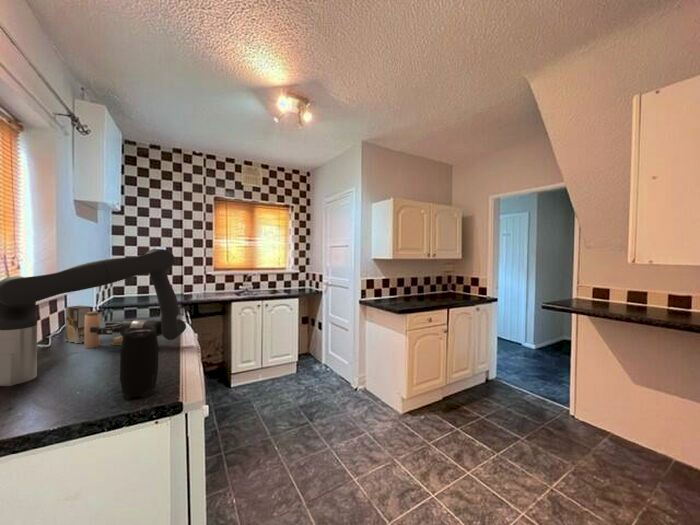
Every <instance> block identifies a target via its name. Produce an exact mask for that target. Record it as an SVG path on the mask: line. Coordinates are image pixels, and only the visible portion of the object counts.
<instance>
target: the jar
mask: <svg viewBox="0 0 700 525" xmlns="http://www.w3.org/2000/svg"><path fill="white" fill-rule="evenodd" d="M91 327H101V314H100V313H99V311H95V310H93V312H87V315H85V330H84V343H83V348H84V347H85V348H84V349H94V348H93V347H96V348H99V347H100V345H101V344H100V343H101V338H100V337H101V335H97V333H91V332H90V328H91ZM98 346H99V347H98Z"/></svg>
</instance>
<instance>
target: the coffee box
mask: <svg viewBox="0 0 700 525" xmlns="http://www.w3.org/2000/svg"><path fill="white" fill-rule="evenodd" d="M87 312H94V306H88V305H75V306H74V305H73V306H68V307H67V306H66V307H65V320H64V321H65V334H64V336H65V337H64V338H65V339H64V340H65V341H69V342H68V343H70V342H74V343H73V344H77V343H80V344H83V343H82V342H84V330H85V315H87Z"/></svg>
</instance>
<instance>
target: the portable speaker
mask: <svg viewBox="0 0 700 525" xmlns="http://www.w3.org/2000/svg"><path fill="white" fill-rule="evenodd" d="M159 347H160V346H159V342H158V336H157V335H156V328H155V327H152V326H147V327H145V328H128V329H126V330H124V336H123V341H122V345H120V351H119V380H120V381H119V382H120V387H121V391H122V398H123V399H124V400H126V401H129V400H131V398H137V397H141V398H143V399H146V398H148V397H150V396H152V395H153V394H154V393H155V389H156V387H157V386H156V385H157V378H158V372H159V350H160V349H159Z"/></svg>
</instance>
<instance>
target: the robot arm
mask: <svg viewBox="0 0 700 525" xmlns="http://www.w3.org/2000/svg"><path fill="white" fill-rule="evenodd" d="M175 261H176V257H175V255H174V254H173V253H172V252H170V251H169V250H167V249H163V248H162V249H161V248H153V249H150V250H148V251H147V252H145V254H142V255H137V256H132V257H129V256H128V257H117V258H108V259H100V260H95V261H90V262H85V263H82V264H78V265H75V266H72V267H69V268H66V269H63V270H61V271H58V272H57V271H56V272H52V273H47V274H42V275H41V274H40V275H33V276H21V275H20V276H17V275H14V276H8V277H6V278H4V279H1V280H0V387H11V386H15V385H19V384H24V383H26V382H27V383H28V382H30V381H32V380H35V379H36V378H37V375H38V374H37V373H38V372H37V370H38V368H37V367H38V366H37V365H38V315H37V302H40V301H42V300H46V299H48V298H49V299H50V298H52V297H56V296H58V295H62V294H66V293H72V292H78V291H79V292H80V291H84V290H88V289H95V288H97V287H98V288H99V287H102V286H106V285H110V284H111V285H112V284H113V283H117V282H120V281H124V280H126V279H127V280H128V279H131V278H134V277H136V276H140V275H145V274H149V276H150V278H151V281H152V284H153V286H154V291H155V294H156V298H157V303H158V308H159V312H160V315H161V317H160V320H146V319H125V320H123V321H119V322H105V326H100V327H91V328H90V332H91V333H97V335H100V336H101V335H103V336H104V335H105V336H106V335H107V336H108V335H109V336H112V335H113V334H120V336H124V330H126V329H128V328H145V327H147V326H152V327H155V328H156V335H157V337H159V336H161V335H162V336H163V338H164V339H166V340H169V341H173V340H175V339H177V338H178V337H179V336H180V335H181V334H183V333H184V332H185V330H186V329H187V324H186V322H185V320H182V319H179V318H177V317H178V315H179V314H180V307H179V304H178V298H177V295H176V293H175V291H174V289H173V287H172V285H171V282H170V280H169V276H168V273H167V272H168V270H170V269H171V268H172V267H173V265H175V263H176V262H175Z"/></svg>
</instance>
